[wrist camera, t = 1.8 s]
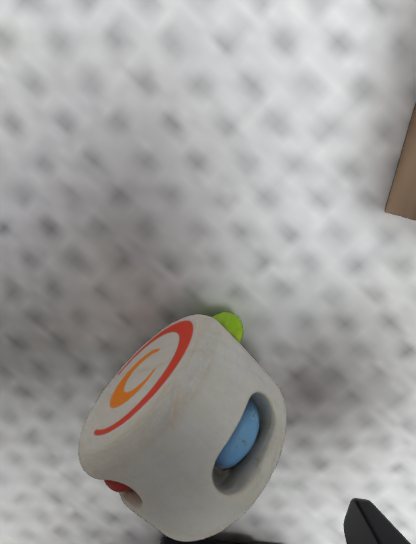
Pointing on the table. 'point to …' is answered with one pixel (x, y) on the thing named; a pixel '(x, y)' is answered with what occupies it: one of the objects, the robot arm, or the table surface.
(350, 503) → the robot arm
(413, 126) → the open square bin
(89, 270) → the table surface
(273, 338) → the table surface
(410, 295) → the table surface
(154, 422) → the roller toy
